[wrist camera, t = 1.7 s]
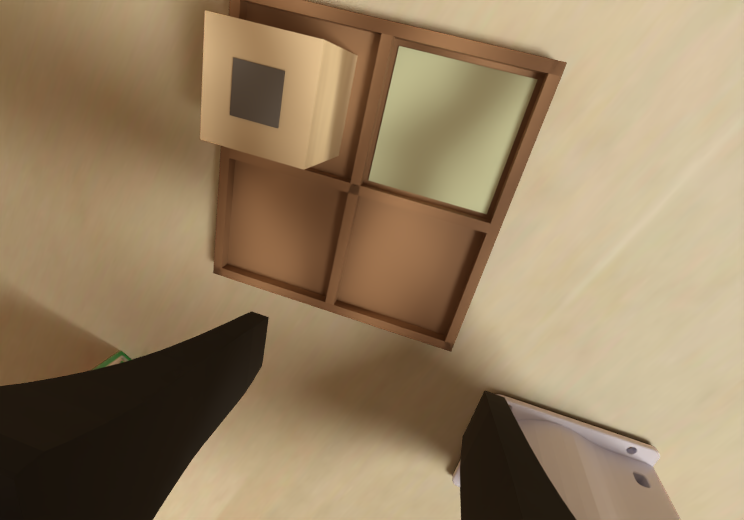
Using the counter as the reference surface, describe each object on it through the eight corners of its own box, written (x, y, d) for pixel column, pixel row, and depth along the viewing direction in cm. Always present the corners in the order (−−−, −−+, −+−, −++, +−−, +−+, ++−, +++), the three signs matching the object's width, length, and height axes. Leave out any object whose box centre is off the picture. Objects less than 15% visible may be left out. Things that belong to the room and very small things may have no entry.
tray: (561, 65, 16) (566, 62, 15) (451, 341, 22) (450, 351, 21) (242, -11, 17) (230, -17, 16) (223, 266, 23) (213, 272, 22)
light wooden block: (357, 55, 17) (323, 39, 13) (338, 155, 19) (303, 170, 15) (265, 32, 17) (203, 9, 13) (255, 132, 19) (199, 139, 15)
